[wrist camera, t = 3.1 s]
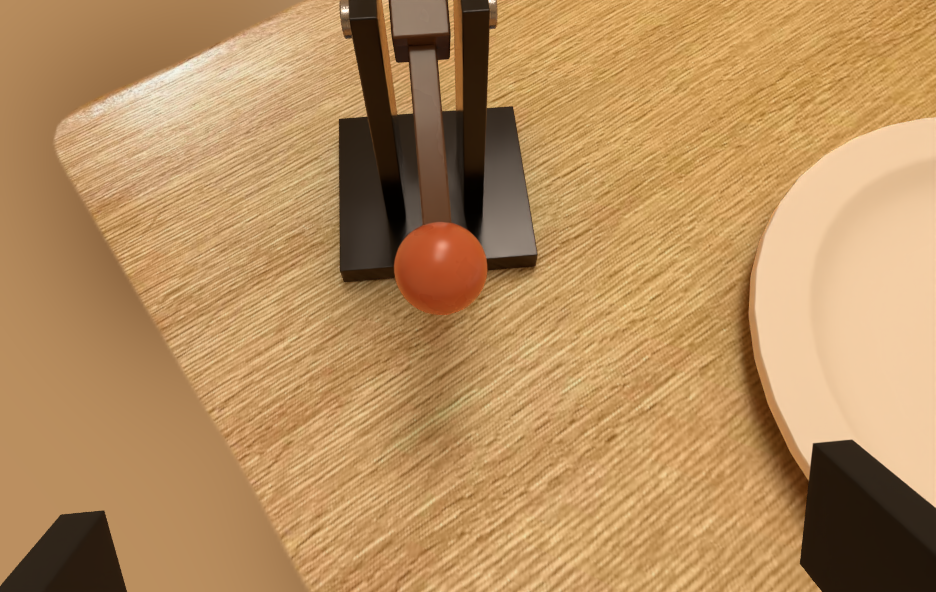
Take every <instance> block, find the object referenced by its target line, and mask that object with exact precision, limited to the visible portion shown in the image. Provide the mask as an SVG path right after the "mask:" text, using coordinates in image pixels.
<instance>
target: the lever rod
mask: <svg viewBox="0 0 936 592" xmlns="http://www.w3.org/2000/svg"><path fill="white" fill-rule="evenodd" d="M389 10H390V22H391V34H392V41H393V47H394V53H395V58H396V62H398V63H400V62H409V68H410V80H411V92H412V104H413V116H414V128H415V140H416V152H417V164H418V175H419V187H420V199H421V211H422V223H423V225H422V226H420V227H418V228H416V229H415V230H413V231H412V232H411V233H409V234H408V235H407V236H406V237H405V239H404V240H403V241H402V243H401V244H400V246H399V248H398V251H397V253H396V257H395V262H394V274H395V280H396V283H397V286H398V288H399V290H400V292H401V294H402V295H403V296H404V298H405V299H406V300H407V301H408V302H409V303H410V304H411V305H413V306H414V307H415V308H417V309H419V310H421V311H423V312H426V313H429V314H434V315H447V314H452V313H456V312H458V311H461V310H463V309H464V308H466V307H468V306H469V305H470V304H471V303H473V302H474V300H475V299H476V298H477V297H478V296H479V294H480V293H481V291H482V289H483V287H484V284H485V281H486V277H487V260H486V256H485V252H484V250H483V248H482V246H481V244H480V242H479V241H478V240H477V238H476V237H475V236H474V235H473V234H472V233H471V232H469V231H468V230H467V229H465V228H463V227H461V226H459V225H457V224H454V223H451V211H450V200H449V188H448V176H447V164H446V153H445V141H444V129H443V118H442V106H441V94H440V83H439V71H438V60H443V59H449V58H450V22H449V10H448V0H389Z"/></svg>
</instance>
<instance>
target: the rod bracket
mask: <svg viewBox="0 0 936 592" xmlns="http://www.w3.org/2000/svg"><path fill="white" fill-rule="evenodd" d="M453 5H454V48H455V92H456V111H442V118H443V129H444V141H445V153H446V164H447V176H448V188H449V200H450V211H451V223H454V224H457V225H459V226H461V227H463V228H465V229H467V230H468V231H469V232H471V233H472V234H473V235H474V236H475V237H476V238H477V240H478V241H479V242H480V244H481V246H482V248H483V250H484V252H485V256H486V260H487V270H495V269H507V268H519V267H531V266H536V260H537V255H538V254H537V248H536V242H535V236H534V230H533V224H532V218H531V212H530V206H529V200H528V194H527V188H526V182H525V176H524V170H523V164H522V158H521V152H520V146H519V140H518V134H517V128H516V122H515V116H514V110H513V107H512V106H511V107H497V108H487V83H488V56H489V29H495V28H496V27H497V0H453ZM340 18H341V26H342V31H343V35H344V37H345V38H346V39H349V38H352V39H353V44H354V49H355V54H356V60H357V65H358V70H359V75H360V80H361V85H362V90H363V96H364V101H365V106H366V111H367V116H368V117H359V118H345V119H339V205H340V272H341V275H342V278H343V281H344V282H351V281H363V280H375V279H387V278H395V274H394V262H395V257H396V253H397V251H398V248H399V246H400V244H401V243H402V241H403V240H404V239H405V237H406V236H407V235H408V234H409V233H411V232H412V231H413V230H415V229H416V228H418V227H420V226H422V225H423V223H422V211H421V199H420V187H419V175H418V164H417V152H416V140H415V128H414V116H413V114H400V115H397V108H396V101H395V94H394V86H393V79H392V72H391V64H390V57H389V50H388V42H387V35H386V28H385V20H384V13H383V6H382V0H340Z"/></svg>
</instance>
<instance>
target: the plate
mask: <svg viewBox="0 0 936 592" xmlns="http://www.w3.org/2000/svg"><path fill="white" fill-rule="evenodd" d="M749 323H750V330H751V338H752V345H753V353H754V360H755V363H756V366H757V370H758V373H759V376H760V380H761V383H762V386H763V390H764V393H765V396H766V400H767V403H768V406H769V408H770V410H771V412H772V414H773V416H774V419H775V421H776V423H777V425H778V427H779V429H780V431H781V434H782V436H783V438H784V440H785V442H786V444H787V446H788V449H789V451H790V453H791V454H792V456H793V457H794V459H795V461H796V462H797V464H798V465H799V467H800V468H801V470H802V471H803V473H804V475H805V476H806V478H807V479H808V481H809V475H810V465H811V456H812V447H813V443H820V442H831V441H841V440H854V441H855V442H856V443H857V444H858V445H860V446H861V447H862V448H863V449H865V450H866V451H867V452H868V453H869V454H871V455H872V456H873V457H874V458H876V459H877V460H878V461H879V462H880V463H882V464H883V465H884V466H885V467H886V468H888V469H889V470H890V471H891V472H893V473H894V474H895V475H896V476H897V477H899V478H900V479H901V480H902V481H904V482H905V483H906V484H907V485H908V486H910V487H911V488H912V489H913V490H914V491H916V492H917V493H918V494H919V495H921V496H922V497H923V498H924V499H925V500H927V501H928V502H929V503H930V504H932V505H933V506H934V507H935V508H936V118H923V119H918V120H913V121H908V122H903V123H899V124H894V125H889V126H886V127H883V128H880V129H878V130H875V131H872V132H869V133H867V134H864V135H861V136H858V137H856V138H853V139H852V140H850V141H848V142H847V143H845V144H843V145H841V146H840V147H838V148H836V149H834V150H833V151H831V152H829V153H827V154H826V155H824V156H823V157H822V158H821V159H820V160H818V161H817V162H816V163H815V164H814V165H813V166H811V167H810V168H809V169H808V170H807V171H806V172H804V173H803V174H802V175H801V176H800V177H799V178H798V179H797V181H796V182H795V183H794V185H793V186H792V187H791V189H790V190H789V191H788V192H787V194H786V195H785V196H784V198H783V199H782V200H781V202H780V203H779V204H778V206H777V207H776V208H775V210H774V211H773V213H772V216H771V218H770V220H769V222H768V224H767V226H766V228H765V230H764V232H763V234H762V236H761V239H760V241H759V244H758V248H757V252H756V256H755V260H754V264H753V268H752V272H751V277H750V297H749Z"/></svg>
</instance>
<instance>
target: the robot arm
mask: <svg viewBox="0 0 936 592" xmlns="http://www.w3.org/2000/svg"><path fill="white" fill-rule="evenodd" d="M800 564H801V566H802V567H803V568H804V569H805V571H806V572H807V573H808V575H809V576H810V577H811V578H812V580H813V581H814V582H815V583H816V585H817V586H818V587H819V588H820V590H821V591H822V592H936V508H935V507H934V506H933V505H932V504H930V503H929V502H928V501H927V500H925V499H924V498H923V497H922V496H921V495H919V494H918V493H917V492H916V491H914V490H913V489H912V488H911V487H910V486H908V485H907V484H906V483H905V482H904V481H902V480H901V479H900V478H899V477H897V476H896V475H895V474H894V473H893V472H891V471H890V470H889V469H888V468H886V467H885V466H884V465H883V464H882V463H880V462H879V461H878V460H877V459H876V458H874V457H873V456H872V455H871V454H869V453H868V452H867V451H866V450H865V449H863V448H862V447H861V446H860V445H858V444H857V443H856V442H855V441H854V440H841V441H831V442H820V443H813V447H812V456H811V465H810V475H809V484H808V493H807V503H806V512H805V521H804V531H803V540H802V549H801V559H800ZM0 592H127V590H126V587H125V583H124V580H123V576H122V573H121V569H120V565H119V562H118V558H117V555H116V551H115V547H114V544H113V540H112V537H111V533H110V530H109V526H108V522H107V519H106V515H105V512H104V511H94V512H83V513H73V514H64V515H63V514H62V515H60V516H59V518H58V519H57V520H56V521H55V522H54V523H53V525H52V526H51V527H50V528H49V529H48V530H47V532H46V533H45V534H44V535H43V536H42V537H41V539H40V540H39V541H38V542H37V543H36V545H35V546H34V547H33V548H32V549H31V550H30V552H29V553H28V554H27V555H26V556H25V558H24V559H23V560H22V561H21V562H20V563H19V565H18V566H17V567H16V568H15V569H14V570H13V572H12V573H11V574H10V575H9V576H8V577H7V579H6V580H5V581H4V582H3V583H2V585H1V586H0Z"/></svg>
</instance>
